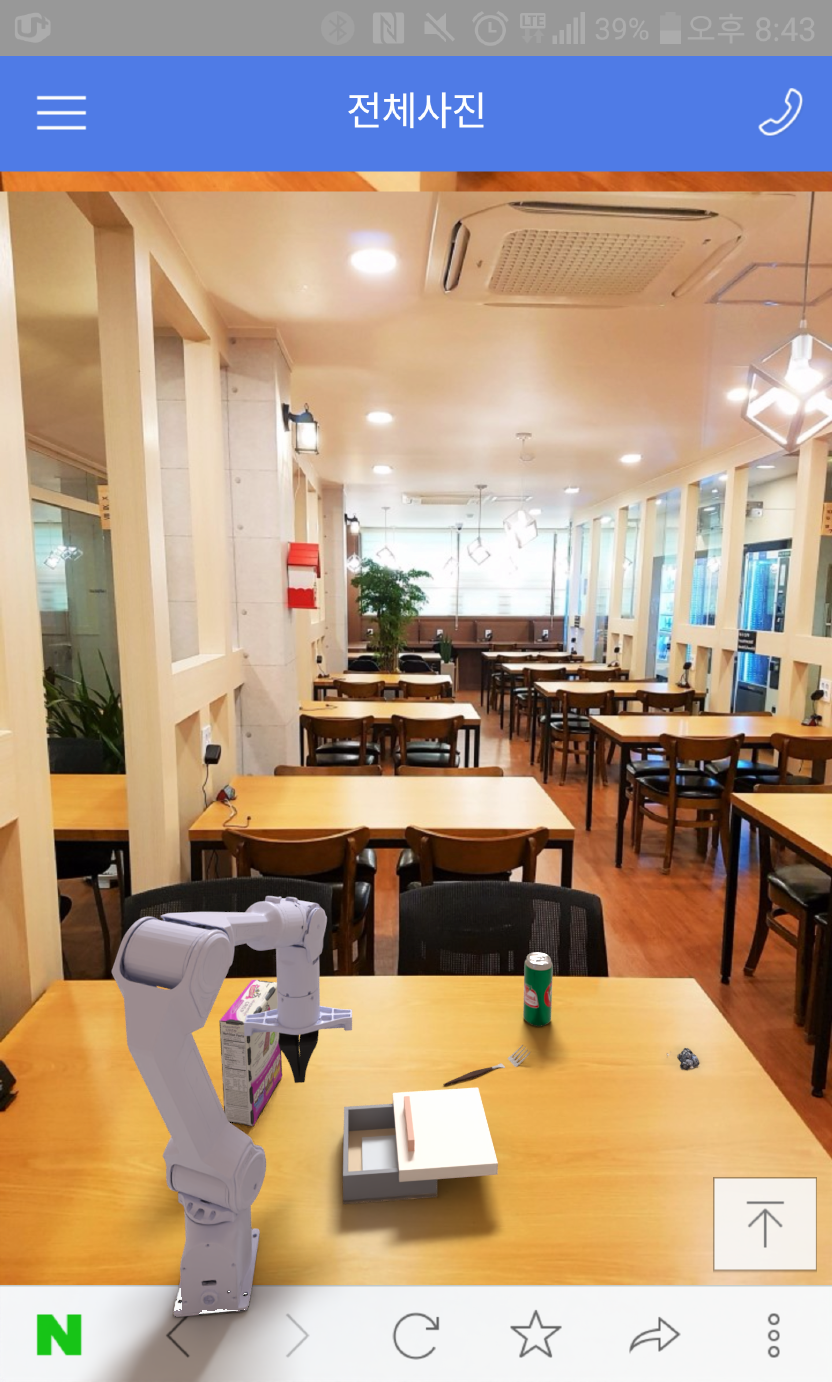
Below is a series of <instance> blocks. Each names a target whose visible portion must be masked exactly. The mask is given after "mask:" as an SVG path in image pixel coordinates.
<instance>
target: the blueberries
mask: <svg viewBox="0 0 832 1382" xmlns="http://www.w3.org/2000/svg"><path fill="white" fill-rule="evenodd" d="M671 1053H672V1052H670V1054H669V1053H666V1058H668V1057H669V1056H670V1055H671ZM677 1060H678V1061H679V1062H680V1064H679V1069H680V1070H682V1071H688V1070H694V1069H695V1068H698V1067H701V1066H700V1060H699V1058H698V1056H697V1055H696V1054H694V1052H693V1051H692V1050H691V1049H690V1048H688V1047H684V1048H683V1049H682V1050H681V1052H680V1053H678V1054H677Z"/></svg>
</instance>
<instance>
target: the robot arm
mask: <svg viewBox="0 0 832 1382" xmlns="http://www.w3.org/2000/svg"><path fill="white" fill-rule="evenodd" d="M160 918H161V919H163V920H160V919H158V918H157V917H154V916H144V917H141V918H138V920H136V921H135V922H133V924H132V925H131V926H130V927H129V929H127V931H126V932H125V934H124V935H123V938H122V940H121V941H120V945H119V948H118V951H117V954H116V957H115V960H114V963H113V966H112V969H111V974H112V977H113V978H114V980H115V983H116V984H117V987H118V989H119V991H120V993H121V995H122V997H123V1002H124V1004H123V1005H124V1017H125V1018H124V1019H125V1033H126V1035H125V1036H126V1044H127V1047H128V1051H129V1053H130V1055H131V1057H132V1059H133V1061H134V1063H135V1065H136V1067H137V1069H138V1072H139V1073H140V1075H141V1078H142V1079H143V1080H142V1081H143V1082H144V1083H145V1085H146V1087H147V1090H148V1093H149V1094H150V1097H151V1098H152V1100H153V1102H154V1104H155V1106H156V1109H157V1110H158V1112H159V1114H160V1116H161V1118H162V1120H163V1123H164V1124H165V1127H166V1129H167V1130H168V1133H169V1135H170V1138H169V1140H168V1142H167V1144H166V1146H165V1148H164V1152H163V1154H162V1158H163V1159H164V1162H165V1167H166V1169H165V1174H166V1175H165V1178H166V1180H165V1181H166V1185H167V1187H168V1188H169V1189H170V1191H173V1192H176V1193H177V1197H178V1198H177V1199H178V1200H177V1202H178V1203H179V1204H181V1205H182V1206H183V1208H184V1226H185V1227H184V1228H185V1229H184V1230H185V1234H184V1235H185V1242H184V1247H183V1250H182V1255H181V1258H180V1266H179V1271H180V1272H179V1273H180V1280H179V1281H180V1282H179V1284H178V1285H179V1286H178V1288H181V1297H182V1310H181V1309H179V1310H180V1311H178V1310H176V1311H173V1310H172V1313H173V1312H174V1316H173V1317H175V1316H176V1318H178V1317H179V1318H180V1317H189V1316H190V1317H191V1316H200V1315H199V1313H200V1312H202V1310H207V1311H215V1310H217V1309H223V1310H225V1309H227V1310H238V1311H237V1312H241V1311H240V1310H244V1309H245V1311H247V1310H248V1309H249V1307H250V1303H249V1301H251V1296H250V1295H251V1293H252V1289H251V1288H253V1281H254V1275H255V1266H256V1260H257V1254H258V1248H259V1243H260V1242H259V1241H260V1234H261V1233H260V1229H259V1228H255V1227H254V1228H252V1207H251V1206H252V1205H253V1204H254V1202H255V1201H256V1200H257V1197H258V1195H259V1193H260V1191H261V1189H262V1187H263V1183H264V1180H265V1176H266V1170H267V1158H266V1153H265V1152H266V1151H265V1149H264V1148H263V1147H262V1146H261V1145H258V1144H254V1142H253V1139H252V1137H251V1136H250V1135H248V1134H247V1133H245V1132H244V1131H242V1130H241V1129H239V1127H237V1126H236V1125H234V1124H233V1123H230V1122H229V1121H228V1120H227V1117H226V1115H225V1112H224V1107H223V1106H222V1102H221V1101H220V1100H221V1099H219V1096H218V1094H217V1091H216V1089H215V1087H214V1084H213V1082H212V1079H211V1077H210V1074H209V1072H208V1069H207V1067H206V1065H205V1062H204V1060H203V1057H202V1054H201V1053H200V1050H199V1047H198V1045H197V1042H196V1041H195V1038H194V1036H193V1032H196V1031H198V1030H200V1029H203V1028H204V1027H205V1025H206V1023H207V1020H208V1018H209V1015H210V1014H211V1012H212V1009H213V1006H214V1005H215V1002H216V1001H217V997H218V995H219V992H220V990H221V988H222V986H223V983H224V980H225V979H226V976H227V974H228V973H229V969H230V967H231V966H232V965H233V961H234V956H235V947H236V946H239V945H244V944H246V945H247V946H249V947H250V948H251V949H253V950H256V951H258V952H259V951H268V950H274V949H275V953H276V954H275V957H276V958H275V959H276V960H275V962H276V982H277V1009H273V1010H269V1011H265V1012H261V1013H257V1014H249V1015H246V1018H245V1021H244V1036H252V1035H253V1033H257V1032H279V1040H278V1044H279V1047H280V1049H281V1053H282V1054H283V1055H284V1057H285V1058H286V1061H287V1062H288V1064H289V1066H290V1067H289V1068H290V1070H291V1072H292V1075H293V1076H292V1077H293V1081H294V1083H295V1084H300V1083H305V1082H306V1076H307V1075H306V1073H307V1068H308V1065H309V1062H310V1059H311V1058H312V1055H313V1053H314V1050H315V1049H316V1048H317V1044H318V1041H319V1032H320V1030H328V1029H329V1030H330V1029H343V1030H344V1031H346V1032H347V1031H352V1030H353V1009H349V1008H348V1009H346V1008H345V1009H343V1008H336V1007H329V1006H324V1005H320V1004H321V1002H320V1001H321V999H320V997H321V996H320V955H321V954H322V952H323V949H324V937H325V933H326V930H327V929H326V927H327V922H328V917H327V915H326V912H325V909H323V908H322V907H321V906H320V904H319V903H318V902H310V901H305V900H301V899H300V900H299V899H298V898H297V897H294V896H286V897H285V898H282V896H273V895H266V896H265V899H264V900H263V901H257V902H254V903H253V904H251V905H250V906H249V907H248V908H247V909H246V910H245V912H240V911H239V912H238V911H230V912H229V911H227V912H225V911H191V912H190V911H188V912H167V913H165V914H162V915H160ZM228 1291H230V1292H228ZM244 1293H247V1294H248V1295H245V1296H243V1294H244ZM248 1306H249V1307H248ZM247 1308H248V1309H247ZM246 1309H247V1310H246Z"/></svg>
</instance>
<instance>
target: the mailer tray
mask: <svg viewBox="0 0 832 1382" xmlns="http://www.w3.org/2000/svg"><path fill="white" fill-rule="evenodd" d="M342 1156H343V1157H342V1158H343V1159H342V1160H343V1162H342V1190H343V1191H342V1200H343V1202H342V1203H343V1204H342V1205H351V1204H364V1203H365V1204H366V1203H379V1202H380V1203H381V1202H388V1201H389V1202H390V1201H393V1202H394V1201H402V1200H415V1199H416V1200H417V1199H428V1198H429V1199H430V1198H437V1197H438V1179H432V1180H418V1181H405V1182H399V1167H398V1155H397V1142H396V1130H395V1118H394V1106H393V1103H383V1104H370V1105H366V1104H365V1105H353V1106H344V1107H343V1155H342Z"/></svg>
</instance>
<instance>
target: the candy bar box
mask: <svg viewBox="0 0 832 1382" xmlns="http://www.w3.org/2000/svg"><path fill="white" fill-rule="evenodd" d="M273 1009H277V981H276V982H275V981H267V980H260V979H251V980H250V982H248V984H247V985H246V987H245V988H244V989H243V990H242V992H241V993H240V994H239V995H238V997H237V998H236V999H235V1000H234V1002H232V1004H231V1005H230V1006H229V1008H228V1009H227V1010H226V1012H224V1014H223V1016H221V1018H220V1019H219V1037H220V1039H219V1041H220V1057H221V1059H220V1061H221V1072H222V1073H221V1074H222V1075H221V1076H222V1092H223V1095H222V1097H223V1110H224V1112H225V1115H226V1117H227V1120H228V1121H229V1122H231V1124H237V1123H238V1124H239V1125H243V1124H244V1126H249V1127H253V1126H255V1125H256V1123H257V1120H258V1118H259V1117H260V1115H261V1113H263V1112H262V1111H263V1110H264V1108H265V1107H266V1105H267V1103H268V1101H269V1100H270V1098H271V1096H272V1094H273V1093H274V1091H275V1089H276V1087H277V1086H278V1084H279V1083H280V1081H281V1079H282V1077H283V1065H282V1063H283V1062H282V1051H281V1049H280V1047H279V1044H278V1040H279V1032H257V1033H253V1035H252V1036H244V1021H245V1018H246V1015H249V1014H257V1013H261V1012H265V1011H269V1010H273ZM232 1122H233V1123H232Z"/></svg>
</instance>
